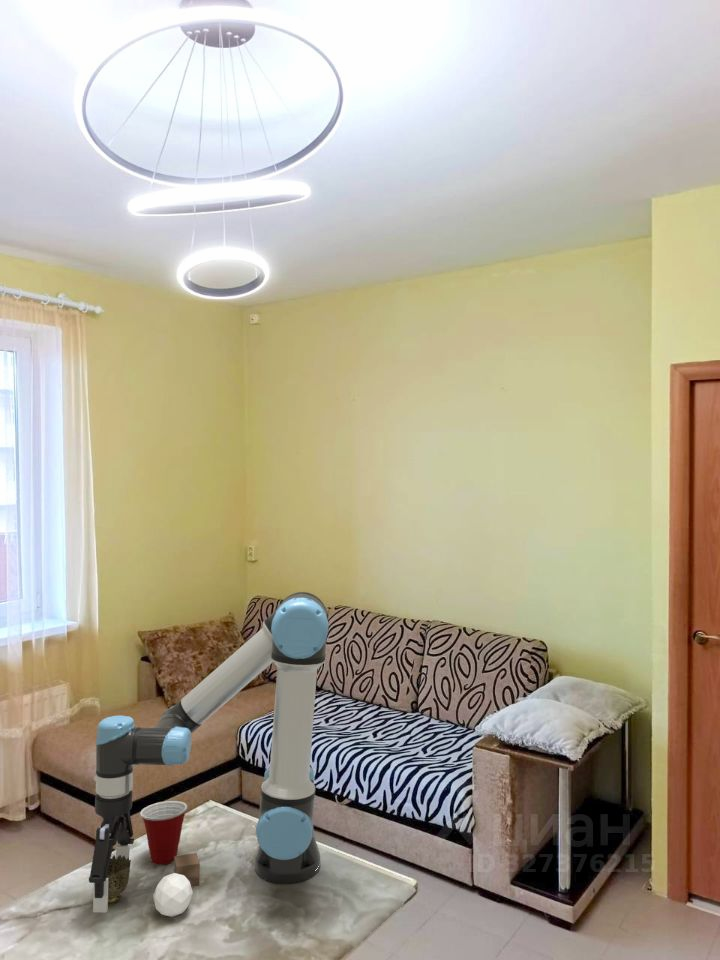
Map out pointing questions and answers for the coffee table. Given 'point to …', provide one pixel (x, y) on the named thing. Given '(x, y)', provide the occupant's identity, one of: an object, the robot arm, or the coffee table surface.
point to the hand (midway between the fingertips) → (111, 892)
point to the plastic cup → (163, 829)
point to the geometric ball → (172, 895)
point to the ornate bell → (117, 877)
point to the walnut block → (188, 867)
